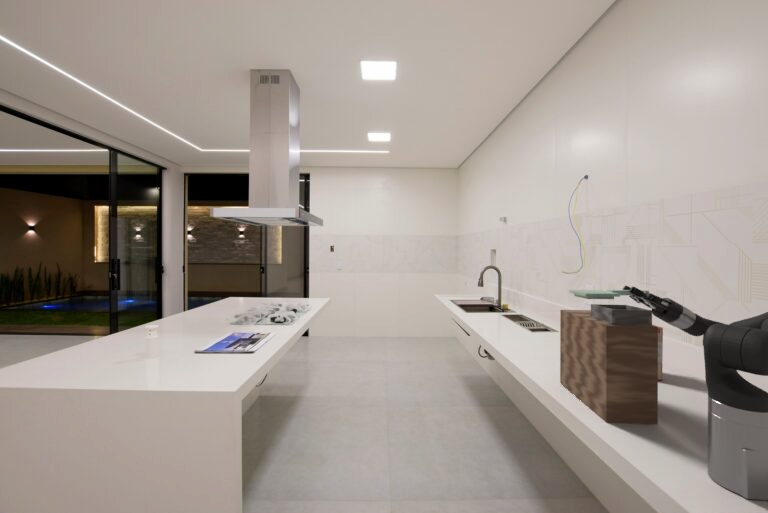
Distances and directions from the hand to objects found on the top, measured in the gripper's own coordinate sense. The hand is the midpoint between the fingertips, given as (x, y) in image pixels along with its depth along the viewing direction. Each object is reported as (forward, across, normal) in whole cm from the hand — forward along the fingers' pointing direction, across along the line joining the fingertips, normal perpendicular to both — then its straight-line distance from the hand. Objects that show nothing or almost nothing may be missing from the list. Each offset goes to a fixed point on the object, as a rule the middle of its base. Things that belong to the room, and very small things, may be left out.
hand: (627, 288), depth 111 cm
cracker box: (-36, -21, +22) cm, 47 cm away
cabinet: (-7, +7, +38) cm, 40 cm away
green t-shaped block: (+3, 0, +6) cm, 6 cm away
